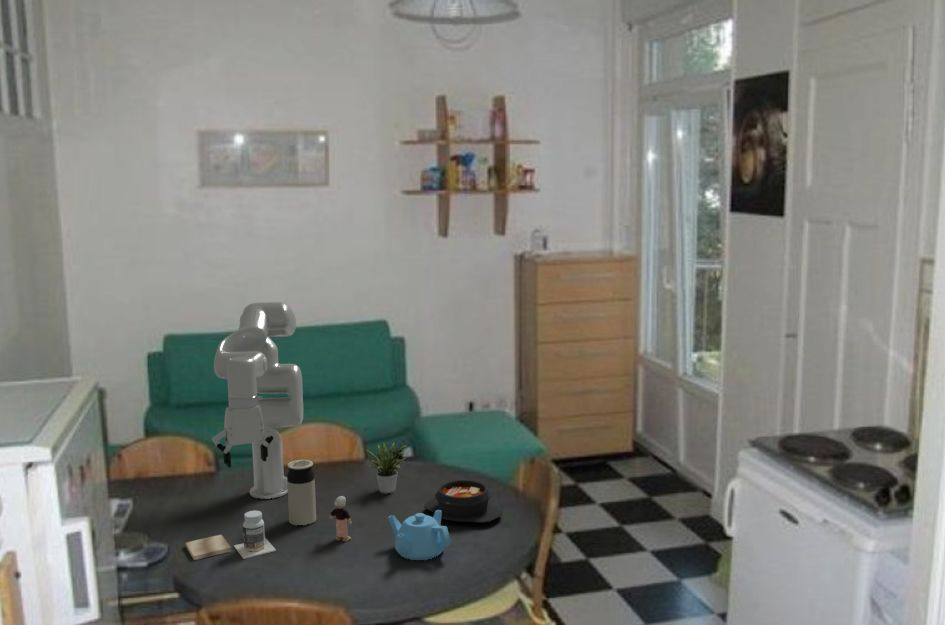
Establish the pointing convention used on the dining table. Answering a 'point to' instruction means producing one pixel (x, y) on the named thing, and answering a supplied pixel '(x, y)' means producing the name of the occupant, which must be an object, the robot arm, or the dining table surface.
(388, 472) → the house plant
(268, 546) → the tile
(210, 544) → the coaster
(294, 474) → the travel mug
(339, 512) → the grandmother figurine
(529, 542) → the dining table surface
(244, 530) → the pill bottle
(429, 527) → the teapot
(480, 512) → the casserole
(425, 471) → the dining table surface
